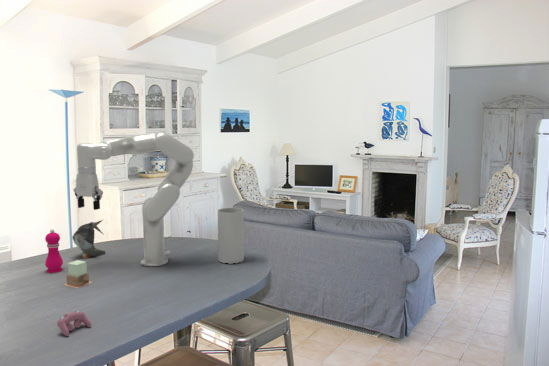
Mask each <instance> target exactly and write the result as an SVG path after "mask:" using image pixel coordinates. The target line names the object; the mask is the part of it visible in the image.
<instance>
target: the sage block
mask: <svg viewBox="0 0 549 366" xmlns="http://www.w3.org/2000/svg"><path fill="white" fill-rule="evenodd" d="M67 269H68V273H67V275H68V274H69V275H71V276H75V277H78V276H81V275H84V274H87V273H88V268H87V261H83V260H78V259H76V260H74V261H71V262H68V263H67Z"/></svg>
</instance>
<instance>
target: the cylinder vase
mask: <svg viewBox="0 0 549 366" xmlns="http://www.w3.org/2000/svg"><path fill="white" fill-rule="evenodd" d="M244 211H245V209H243V208H241V207H224V208H220V209H219V208H218V209H217V251H218V252H217V256H218V257H217V259H218V261H219V263H221V262H222V264H225V263H228V264H227V265H232V264H233V263H236V264H240V263H242V262H243V261H244V259H245V226H244V225H245V221H244V220H245V212H244ZM239 262H240V263H239ZM233 265H234V264H233Z"/></svg>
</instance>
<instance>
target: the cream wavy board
mask: <svg viewBox="0 0 549 366" xmlns="http://www.w3.org/2000/svg"><path fill="white" fill-rule="evenodd" d="M92 283H93V281H89V283H86V284H84V285H81V286H78V287H75V286H71V285H67V283H64V284H63V286H66V287H70V288H74V289H79V288H81V287H84V286H87V285H89V284H92Z"/></svg>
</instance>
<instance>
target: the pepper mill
mask: <svg viewBox="0 0 549 366" xmlns="http://www.w3.org/2000/svg"><path fill="white" fill-rule="evenodd" d="M44 240H45V242H46V243H47V244H46V247H47V252H48V254H47V256H46V259H45V263H44V266H45V267H46V268H47V269H46V273H49V274H56V273H59V272H62V271H63V268H62V266H63V265H64V261H63V258H62V256H61V254H60V252H59V251H60V250H59V247H60V240H61V236H60V234H59V233H57V232H55V229H50V231H49V233H47V234H46V235H45V238H44Z"/></svg>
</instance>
